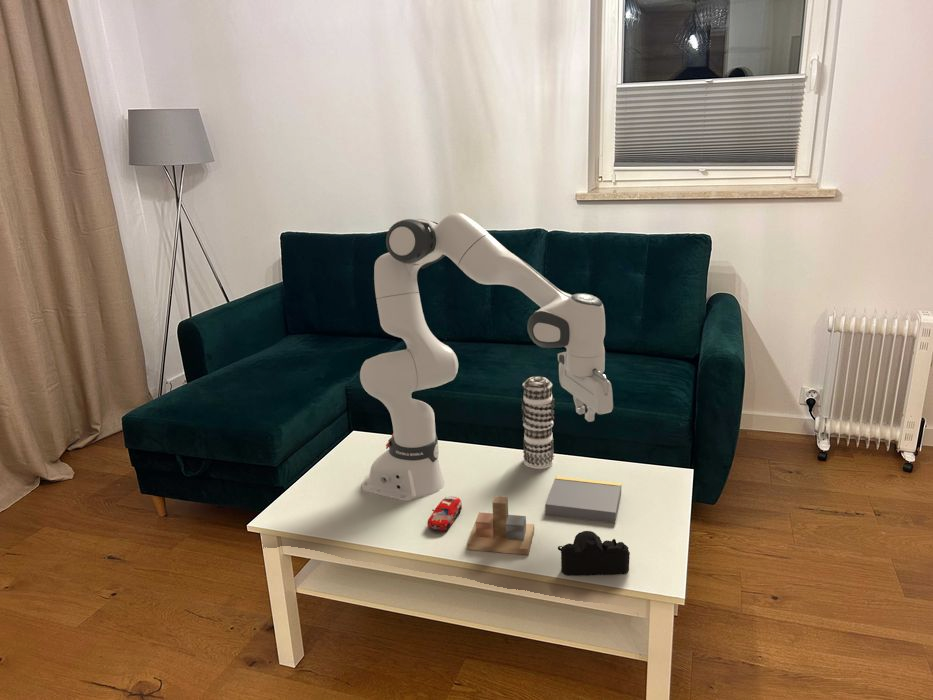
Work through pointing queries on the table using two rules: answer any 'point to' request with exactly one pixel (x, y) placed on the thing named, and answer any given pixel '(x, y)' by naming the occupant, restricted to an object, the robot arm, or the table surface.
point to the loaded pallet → (501, 542)
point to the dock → (584, 499)
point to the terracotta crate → (484, 525)
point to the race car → (445, 513)
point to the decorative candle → (538, 422)
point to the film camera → (594, 556)
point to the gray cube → (516, 527)
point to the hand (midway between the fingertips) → (584, 416)
